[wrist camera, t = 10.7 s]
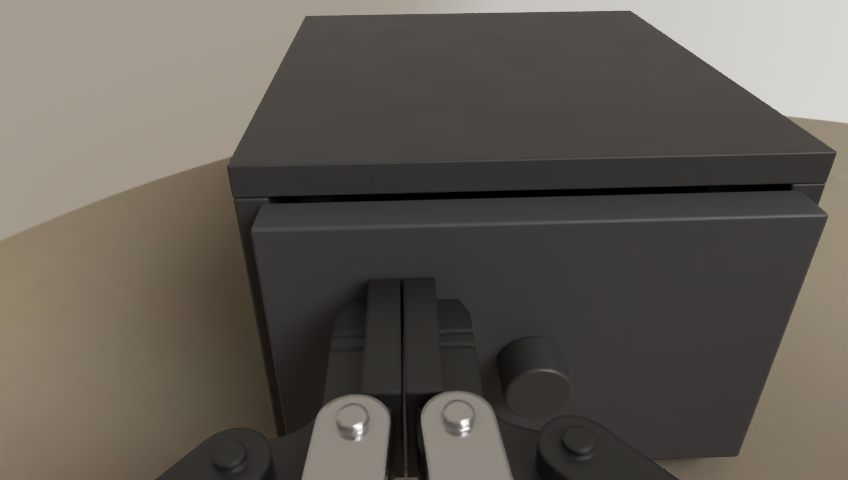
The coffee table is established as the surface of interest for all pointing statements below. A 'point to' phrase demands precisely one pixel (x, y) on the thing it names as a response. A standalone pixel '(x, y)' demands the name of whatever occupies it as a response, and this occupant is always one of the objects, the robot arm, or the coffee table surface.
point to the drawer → (560, 298)
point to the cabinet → (502, 117)
